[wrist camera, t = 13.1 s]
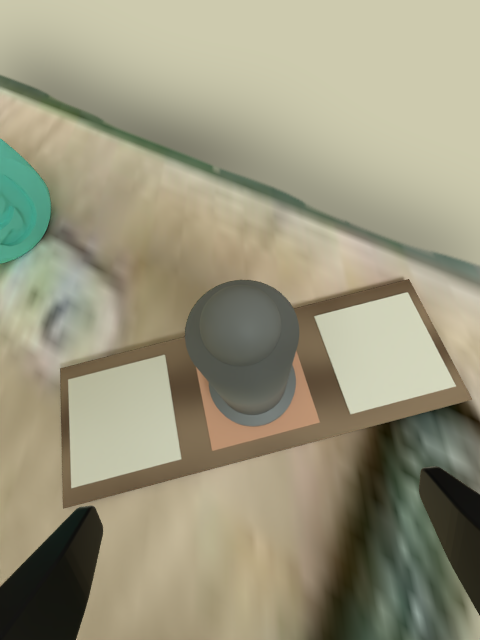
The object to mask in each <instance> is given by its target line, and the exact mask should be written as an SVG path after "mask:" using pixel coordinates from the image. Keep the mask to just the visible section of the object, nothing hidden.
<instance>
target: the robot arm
mask: <svg viewBox="0 0 480 640" xmlns="http://www.w3.org/2000/svg"><path fill="white" fill-rule="evenodd" d="M419 494H420V497H421V500H422V502H423V504H424V507H425V509H426V511H427V513H428V515H429V518H430V520H431V522H432V524H433V526H434V529H435V531H436V533H437V535H438V538H439V540H440V542H441V544H442V546H443V549H444V551H445V553H446V555H447V557H448V559H449V561H450V563H451V565H452V567H453V569H454V571H455V573H456V574H457V576H458V578H459V580H460V581H461V583H462V585H463V587H464V589H465V590H466V592H467V594H468V596H469V597H470V599H471V601H472V603H473V605H474V606H475V608H476V610H477V612H478V613H479V615H480V494H478V493H477V492H476V491H474V490H473V489H471V488H470V487H468V486H467V485H465V484H464V483H462V482H461V481H459V480H458V479H456V478H455V477H453V476H452V475H450V474H449V473H447V472H446V471H444V470H443V469H441V468H440V467H437V466H434V467H425V468H422V470H421V474H420V484H419ZM102 536H103V525H102V523H101V520H100V518H99V515H98V513H97V511H96V508H95V507H94V506H85V507H79V508H78V509H76V510H75V511H74V512H73V513H72V514H71V515H70V516H69V517H68V518H67V519H66V520H65V521H64V522H63V523H62V524H61V525H60V526H59V527H58V528H57V529H56V530H55V531H54V532H53V533H52V534H51V535H50V536H49V538H48V539H47V540H46V541H45V542H44V543H43V544H42V545H41V546H40V547H39V548H38V549H37V550H36V551H35V552H34V553H33V554H32V555H31V556H30V557H29V558H28V559H27V560H26V561H25V562H24V563H23V564H22V565H21V566H20V567H19V568H18V569H17V570H16V571H15V572H14V573H13V574H12V575H11V576H10V577H9V578H8V579H7V580H6V581H5V582H4V583H3V584H2V585H1V586H0V640H76V638H77V634H78V631H79V628H80V625H81V622H82V618H83V615H84V612H85V609H86V605H87V602H88V598H89V594H90V590H91V586H92V581H93V576H94V572H95V567H96V563H97V558H98V554H99V549H100V545H101V540H102Z"/></svg>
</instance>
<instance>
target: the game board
mask: <svg viewBox="0 0 480 640" xmlns="http://www.w3.org/2000/svg"><path fill="white" fill-rule="evenodd" d="M294 311H295V313H296V316H297V319H298V323H299V341H298V346H297V349H296V353H295V357H294V360H293V364H292V365H293V367H294V371H295V376H296V388H295V393H294V396H293V399H292V401H291V403H290V405H289V407H288V408H287V410H286V411H285V412H284V413H283V414H282V415H281V416H280V417H279V418H278V419H276V420H275V421H273V422H271V423H269V424H266V425H262V426H256V427H250V426H243V425H240V424H237V423H235V422H233V421H231V420H230V419H228V418H227V417H226V416H224V415H223V414H222V413H221V412H220V411H219V409H218V408H217V407H216V405H215V404H214V402H213V400H212V397H211V394H210V390H209V382H208V381H207V379H206V378H205V377H204V376H203V375H202V373H201V372H200V371H199V370H198V369H197V367H196V366H195V365H194V363H193V362H192V360H191V358H190V356H189V354H188V351H187V348H186V342H185V337H182V338H178V339H174V340H170V341H166V342H162V343H158V344H154V345H150V346H146V347H143V348H139V349H135V350H131V351H127V352H123V353H119V354H115V355H111V356H107V357H104V358H100V359H96V360H92V361H88V362H84V363H80V364H76V365H72V366H68V367H65V368H61V369H60V377H61V428H62V479H63V508H67V507H71V506H75V505H78V504H82V503H86V502H90V501H93V500H97V499H101V498H105V497H108V496H112V495H116V494H120V493H123V492H127V491H131V490H135V489H138V488H142V487H146V486H150V485H153V484H157V483H161V482H165V481H168V480H172V479H176V478H180V477H184V476H187V475H191V474H195V473H199V472H202V471H206V470H210V469H214V468H217V467H221V466H225V465H229V464H232V463H236V462H240V461H244V460H247V459H251V458H255V457H259V456H262V455H266V454H270V453H274V452H277V451H281V450H285V449H289V448H292V447H296V446H300V445H304V444H307V443H311V442H315V441H319V440H322V439H326V438H330V437H334V436H338V435H341V434H345V433H349V432H353V431H356V430H360V429H364V428H368V427H371V426H375V425H379V424H383V423H386V422H390V421H394V420H398V419H401V418H405V417H409V416H413V415H416V414H420V413H424V412H428V411H431V410H435V409H439V408H443V407H446V406H450V405H454V404H458V403H461V402H465V401H469V400H472V398H471V396H470V394H469V392H468V390H467V388H466V387H465V385H464V383H463V381H462V379H461V377H460V375H459V373H458V371H457V369H456V368H455V366H454V364H453V362H452V360H451V358H450V356H449V354H448V352H447V350H446V349H445V347H444V345H443V343H442V341H441V339H440V337H439V335H438V333H437V331H436V330H435V328H434V326H433V324H432V322H431V320H430V318H429V316H428V314H427V312H426V311H425V309H424V307H423V305H422V303H421V301H420V299H419V297H418V295H417V293H416V292H415V290H414V288H413V286H412V284H411V282H410V280H409V279H408V280H404V281H400V282H396V283H392V284H388V285H384V286H380V287H376V288H373V289H369V290H365V291H361V292H357V293H353V294H349V295H345V296H341V297H337V298H334V299H330V300H326V301H322V302H318V303H314V304H310V305H306V306H302V307H298V308H295V309H294Z"/></svg>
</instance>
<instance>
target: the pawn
mask: <svg viewBox="0 0 480 640" xmlns="http://www.w3.org/2000/svg"><path fill="white" fill-rule="evenodd" d="M298 341H299V323H298V319H297V316H296V313H295V311H294V309H293V307H292V305H291V304H290V302H289V301H288V300H287V299H286V298H285V297H284V296H283V295H282V294H281V293H280V292H279V291H277V290H276V289H274V288H272V287H271V286H269V285H266V284H264V283H261V282H257V281H251V280H236V281H230V282H226V283H223V284H221V285H218V286H216V287H214V288H213V289H211V290H209V291H208V292H207V293H206V294H204V295H203V296H202V297H201V298H200V299H199V300H198V301H197V303H196V304H195V305H194V307H193V308H192V310H191V312H190V314H189V317H188V319H187V323H186V328H185V342H186V348H187V351H188V354H189V356H190V358H191V360H192V362H193V363H194V365H195V366H196V367H197V369H198V370H199V371H200V372H201V373H202V375H203V376H204V377H205V378H206V379H207V381H208V382H209V390H210V394H211V397H212V400H213V402H214V404H215V405H216V407H217V408H218V409H219V411H220V412H221V413H222V414H223V415H224V416H226V417H227V418H228V419H230V420H231V421H233V422H235V423H237V424H240V425H243V426H250V427H256V426H262V425H266V424H269V423H271V422H273V421H275V420H276V419H278V418H279V417H280V416H281V415H282V414H283V413H284V412H285V411H286V410H287V408H288V407H289V405H290V403H291V401H292V399H293V396H294V393H295V388H296V376H295V371H294V367H293V365H292V364H293V360H294V357H295V353H296V349H297V346H298Z"/></svg>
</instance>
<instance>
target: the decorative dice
mask: <svg viewBox="0 0 480 640" xmlns="http://www.w3.org/2000/svg"><path fill="white" fill-rule="evenodd" d="M50 215H51V201H50V194H49V190H48V188H47V186H46V184H45V183H44V181H43V180H42V178H41V177H40V176H39V174H38V173H37V172H36V171H35V170H34V169H33V168H32V166H31V165H30V164H29V163H28V162H27V161H26V160H25V159H24V158H23V157H22V156H20V155H19V154H18V153H17V152H16V151H15V150H14V149H13V148H11V147H10V146H9V145H8V144H7V143H5V142H4V141H3V140H2V139H0V264H1V263H5V262H8V261H11V260H14V259H16V258H18V257H20V256H22V255H24V254H25V253H27V252H28V251H30V250H31V249H32V248H33V247H34V246H35V245H36V244H37V243H38V242H39V241H40V240H41V238H42V237H43V235H44V234H45V232H46V229H47V227H48V224H49V220H50Z"/></svg>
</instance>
